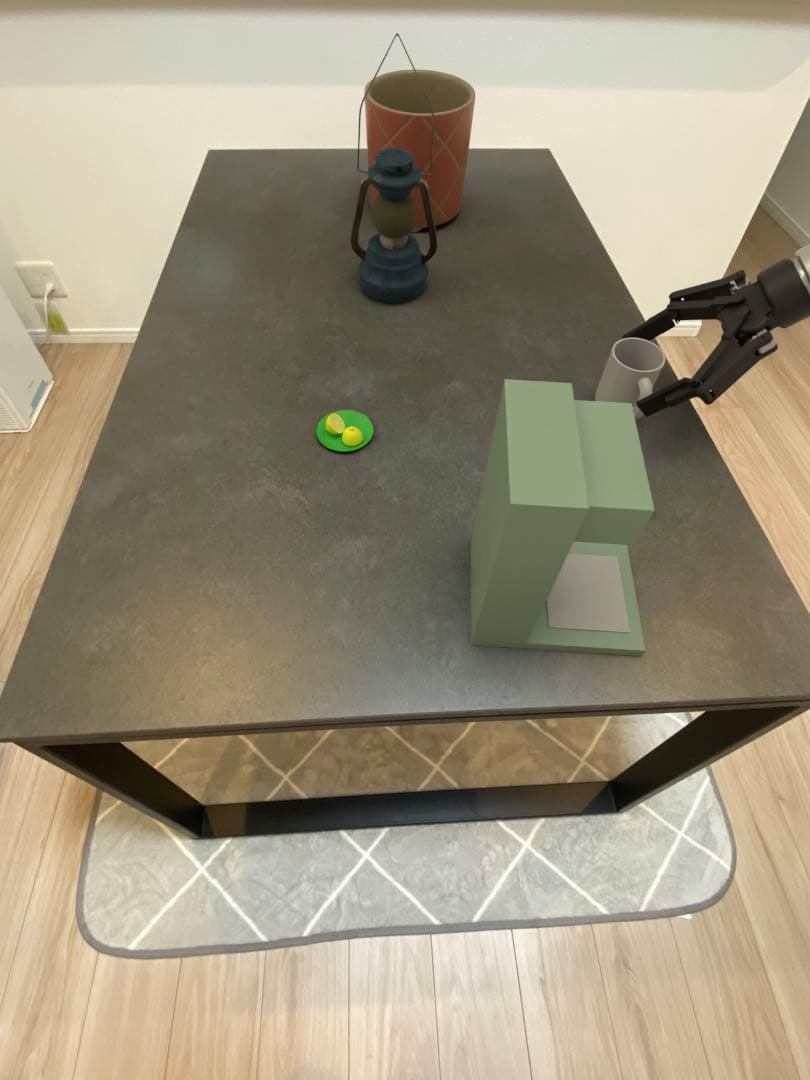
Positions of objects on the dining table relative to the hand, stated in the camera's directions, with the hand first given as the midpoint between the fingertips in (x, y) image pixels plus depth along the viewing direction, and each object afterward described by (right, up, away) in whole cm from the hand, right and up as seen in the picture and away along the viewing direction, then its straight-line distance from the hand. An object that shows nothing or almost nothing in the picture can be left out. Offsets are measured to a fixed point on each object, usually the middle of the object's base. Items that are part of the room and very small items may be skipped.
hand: (633, 375), depth 84 cm
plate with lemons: (-40, -8, +1) cm, 41 cm away
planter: (-30, +43, +36) cm, 63 cm away
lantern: (-34, +21, +21) cm, 45 cm away
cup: (0, -4, +5) cm, 7 cm away
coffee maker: (-15, -30, -13) cm, 35 cm away
